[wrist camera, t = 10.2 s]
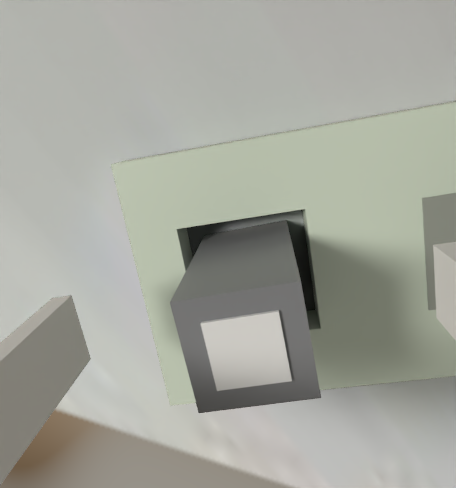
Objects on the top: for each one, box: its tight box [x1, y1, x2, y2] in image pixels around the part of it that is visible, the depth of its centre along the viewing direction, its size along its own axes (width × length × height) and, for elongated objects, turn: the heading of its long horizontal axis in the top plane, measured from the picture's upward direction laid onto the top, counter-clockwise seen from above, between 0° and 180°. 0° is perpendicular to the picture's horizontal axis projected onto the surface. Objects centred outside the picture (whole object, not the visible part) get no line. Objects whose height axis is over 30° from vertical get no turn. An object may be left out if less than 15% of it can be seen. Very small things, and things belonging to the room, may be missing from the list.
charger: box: [170, 220, 321, 413], centre depth 17 cm, size 4×4×8 cm
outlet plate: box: [111, 101, 456, 406], centre depth 19 cm, size 12×20×2 cm, turn 100°
